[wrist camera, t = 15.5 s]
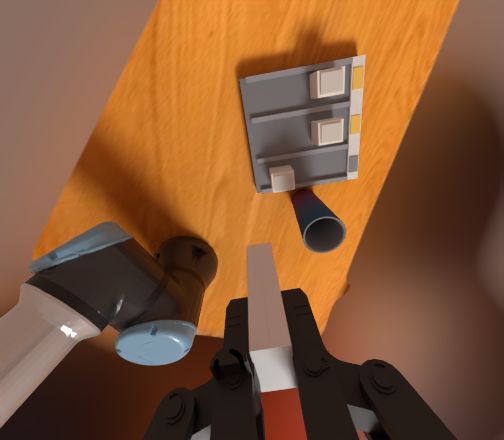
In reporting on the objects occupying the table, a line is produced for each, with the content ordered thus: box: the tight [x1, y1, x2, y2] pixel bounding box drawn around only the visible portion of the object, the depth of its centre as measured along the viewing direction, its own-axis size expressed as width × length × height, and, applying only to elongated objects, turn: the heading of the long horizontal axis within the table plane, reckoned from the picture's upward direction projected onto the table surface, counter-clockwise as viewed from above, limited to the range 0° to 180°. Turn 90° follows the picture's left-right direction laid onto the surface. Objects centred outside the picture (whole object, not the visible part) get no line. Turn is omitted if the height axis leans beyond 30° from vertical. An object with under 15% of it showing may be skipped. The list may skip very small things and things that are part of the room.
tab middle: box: [311, 118, 344, 146], centre depth 37 cm, size 4×4×5 cm
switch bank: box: [239, 55, 365, 194], centre depth 40 cm, size 20×20×3 cm
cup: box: [292, 189, 346, 253], centre depth 41 cm, size 7×7×15 cm
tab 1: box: [269, 165, 295, 193], centre depth 41 cm, size 4×4×5 cm
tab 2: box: [309, 66, 345, 99], centre depth 34 cm, size 4×4×5 cm
